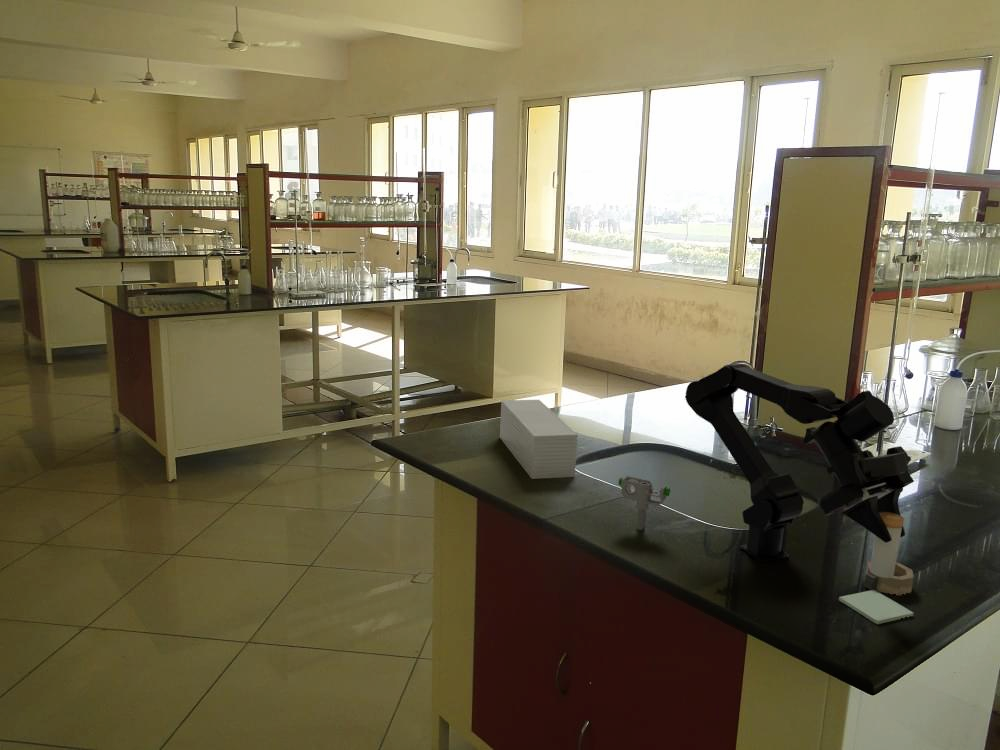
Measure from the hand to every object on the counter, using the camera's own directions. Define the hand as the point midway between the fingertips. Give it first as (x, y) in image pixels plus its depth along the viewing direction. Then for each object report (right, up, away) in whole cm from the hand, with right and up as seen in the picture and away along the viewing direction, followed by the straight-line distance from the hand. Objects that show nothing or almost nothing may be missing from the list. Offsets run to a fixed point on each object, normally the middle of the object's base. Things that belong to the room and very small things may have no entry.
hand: (895, 539), depth 126 cm
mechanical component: (-36, -5, +32) cm, 48 cm away
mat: (-1, -12, +4) cm, 13 cm away
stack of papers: (-55, +5, +73) cm, 92 cm away
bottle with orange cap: (-1, -6, +3) cm, 7 cm away
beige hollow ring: (+5, -11, +12) cm, 17 cm away
